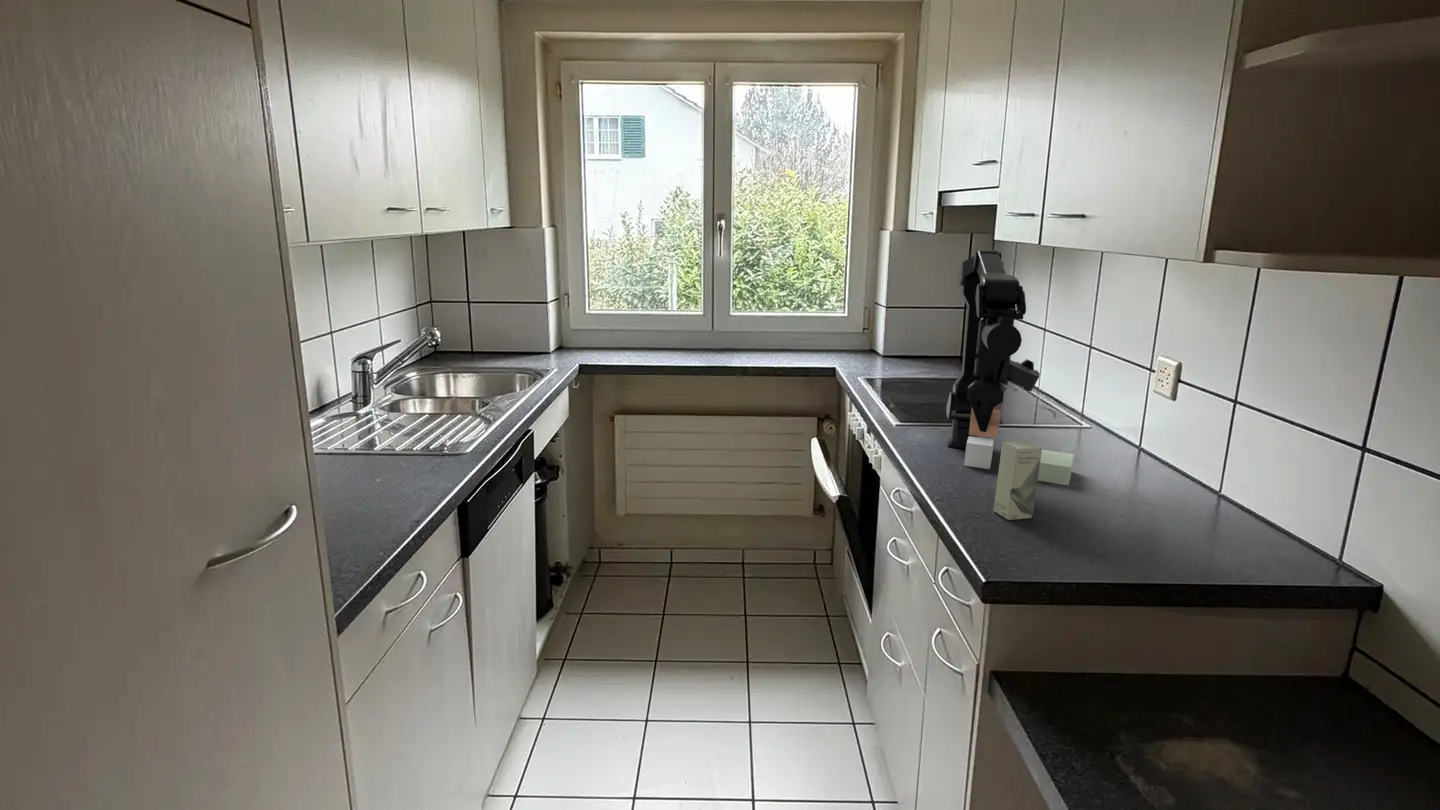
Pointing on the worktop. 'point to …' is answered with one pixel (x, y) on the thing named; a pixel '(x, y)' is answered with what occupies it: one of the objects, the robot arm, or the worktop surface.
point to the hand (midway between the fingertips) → (984, 427)
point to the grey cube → (979, 452)
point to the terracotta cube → (992, 426)
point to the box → (1017, 479)
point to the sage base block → (1055, 467)
